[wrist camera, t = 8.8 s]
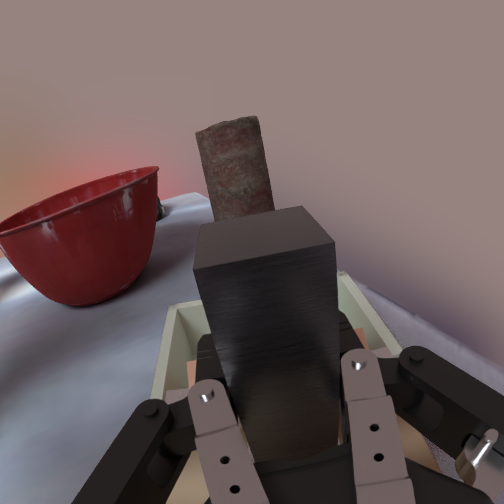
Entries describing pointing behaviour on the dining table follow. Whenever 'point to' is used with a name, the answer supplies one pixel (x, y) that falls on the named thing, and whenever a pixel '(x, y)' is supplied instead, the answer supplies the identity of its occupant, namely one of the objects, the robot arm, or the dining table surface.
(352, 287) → the tray
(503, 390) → the dining table surface
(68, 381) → the dining table surface
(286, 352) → the dark piece
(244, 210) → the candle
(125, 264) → the mixing bowl
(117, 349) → the dining table surface
